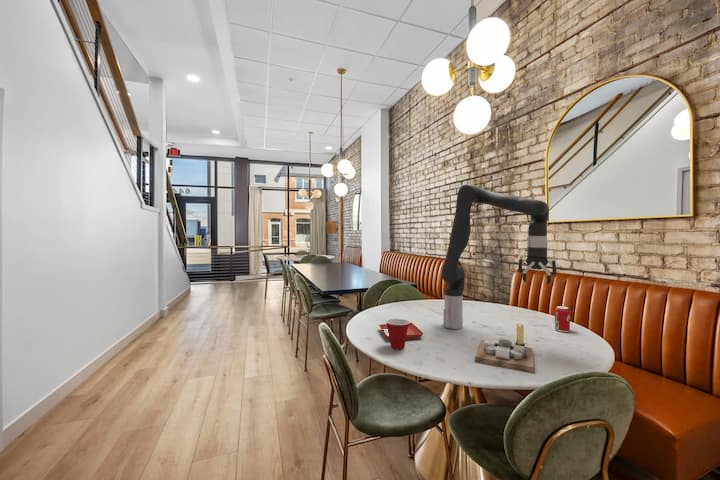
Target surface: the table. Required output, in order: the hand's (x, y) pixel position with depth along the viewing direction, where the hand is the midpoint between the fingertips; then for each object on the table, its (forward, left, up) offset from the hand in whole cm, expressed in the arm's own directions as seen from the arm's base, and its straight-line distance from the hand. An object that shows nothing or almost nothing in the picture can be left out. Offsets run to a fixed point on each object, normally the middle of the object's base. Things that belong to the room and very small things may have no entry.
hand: (536, 283), depth 131 cm
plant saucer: (-59, -14, -29) cm, 67 cm away
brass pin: (-6, -20, -26) cm, 33 cm away
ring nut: (-12, -20, -26) cm, 34 cm away
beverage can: (+12, +28, -28) cm, 42 cm away
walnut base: (-12, -20, -28) cm, 36 cm away
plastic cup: (-54, -30, -28) cm, 67 cm away
